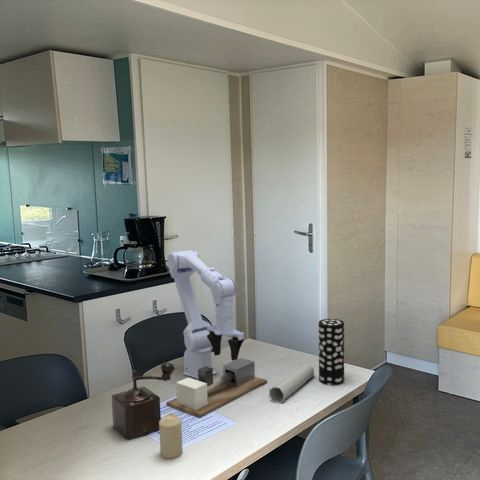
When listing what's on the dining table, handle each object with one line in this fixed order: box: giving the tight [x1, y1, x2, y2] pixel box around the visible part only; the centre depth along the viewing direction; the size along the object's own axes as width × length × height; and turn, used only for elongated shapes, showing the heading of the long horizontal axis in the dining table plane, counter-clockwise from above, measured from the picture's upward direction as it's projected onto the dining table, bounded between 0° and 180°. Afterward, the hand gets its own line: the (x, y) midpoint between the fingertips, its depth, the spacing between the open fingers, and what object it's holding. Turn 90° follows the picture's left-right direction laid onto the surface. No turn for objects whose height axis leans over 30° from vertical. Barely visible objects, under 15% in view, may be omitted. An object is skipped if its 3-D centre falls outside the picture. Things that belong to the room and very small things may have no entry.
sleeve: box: [222, 357, 256, 387], centre depth 182 cm, size 6×9×6 cm, turn 140°
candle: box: [158, 412, 183, 460], centre depth 139 cm, size 6×6×10 cm
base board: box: [166, 376, 268, 419], centre depth 175 cm, size 14×32×1 cm, turn 140°
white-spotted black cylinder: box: [318, 318, 345, 386], centre depth 182 cm, size 8×8×20 cm
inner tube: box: [197, 366, 235, 392], centre depth 172 cm, size 3×19×8 cm, turn 140°
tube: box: [268, 363, 315, 404], centre depth 178 cm, size 5×5×25 cm
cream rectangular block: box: [175, 377, 208, 410], centre depth 165 cm, size 8×5×6 cm, turn 50°
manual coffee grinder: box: [111, 362, 176, 441], centre depth 154 cm, size 16×11×18 cm
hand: (225, 357), depth 178 cm, fingers open, 7 cm apart
